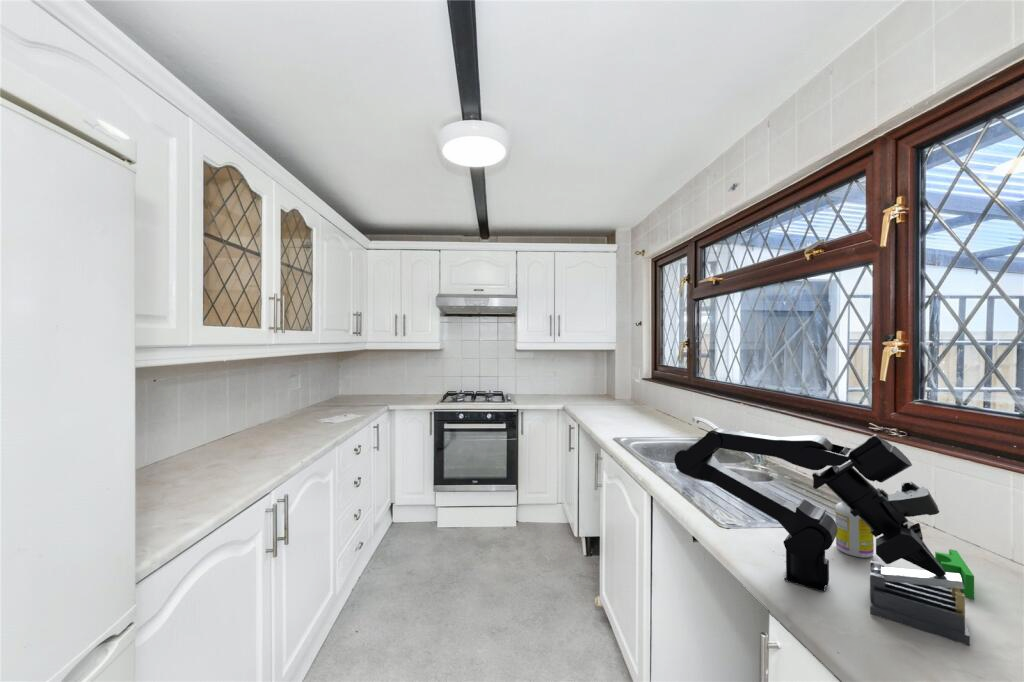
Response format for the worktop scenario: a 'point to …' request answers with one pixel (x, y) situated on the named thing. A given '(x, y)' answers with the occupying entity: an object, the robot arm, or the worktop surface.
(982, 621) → the worktop surface
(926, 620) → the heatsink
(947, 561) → the pipe clamp
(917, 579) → the silver metal bar
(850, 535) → the supplement bottle
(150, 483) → the worktop surface
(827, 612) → the worktop surface
